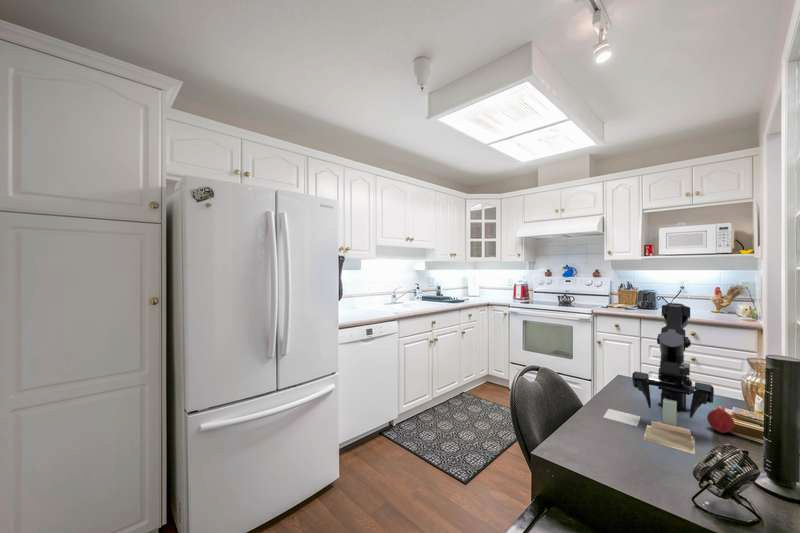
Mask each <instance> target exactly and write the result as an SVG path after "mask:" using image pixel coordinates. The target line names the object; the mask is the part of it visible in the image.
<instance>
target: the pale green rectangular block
mask: <svg viewBox="0 0 800 533" xmlns="http://www.w3.org/2000/svg"><path fill="white" fill-rule="evenodd" d="M677 414H678V412H677V401H674V400H669V399H665V398H664V399H663V406H662V424H666V425H671V426H675V427H678V426H677V421H678V420H677V419H678V418H677V417H678V416H677Z"/></svg>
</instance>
